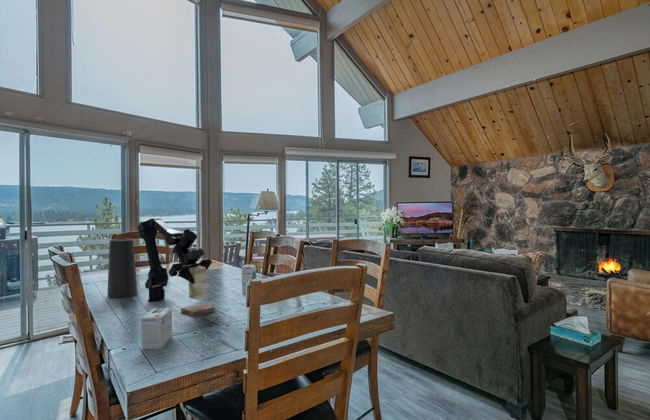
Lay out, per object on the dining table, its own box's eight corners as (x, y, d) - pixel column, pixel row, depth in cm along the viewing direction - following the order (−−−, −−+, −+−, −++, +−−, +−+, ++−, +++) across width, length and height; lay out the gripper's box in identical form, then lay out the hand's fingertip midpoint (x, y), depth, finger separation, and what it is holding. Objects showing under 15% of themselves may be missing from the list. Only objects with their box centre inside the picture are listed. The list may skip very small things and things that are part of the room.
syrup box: (252, 294, 188) (252, 266, 188) (241, 293, 189) (241, 266, 189) (256, 291, 194) (256, 264, 193) (246, 291, 195) (245, 264, 194)
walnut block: (180, 313, 158) (180, 308, 158) (200, 308, 166) (200, 302, 166) (194, 318, 152) (194, 312, 152) (214, 312, 160) (214, 306, 160)
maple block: (189, 297, 158) (188, 267, 158) (199, 295, 162) (198, 266, 162) (196, 299, 155) (195, 269, 155) (205, 296, 159) (205, 267, 159)
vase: (101, 297, 184) (99, 240, 183) (124, 290, 197) (123, 237, 196) (120, 299, 179) (119, 241, 178) (143, 293, 192) (142, 238, 191)
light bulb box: (153, 337, 129) (152, 307, 129) (172, 337, 130) (172, 307, 130) (140, 350, 119) (140, 317, 118) (162, 349, 119) (161, 316, 119)
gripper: (172, 245, 153) (187, 274, 147) (209, 241, 168) (224, 267, 162) (162, 261, 158) (176, 290, 151) (199, 256, 173) (214, 282, 167)
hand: (199, 282), depth 158 cm, fingers closed on maple block, 5 cm apart
